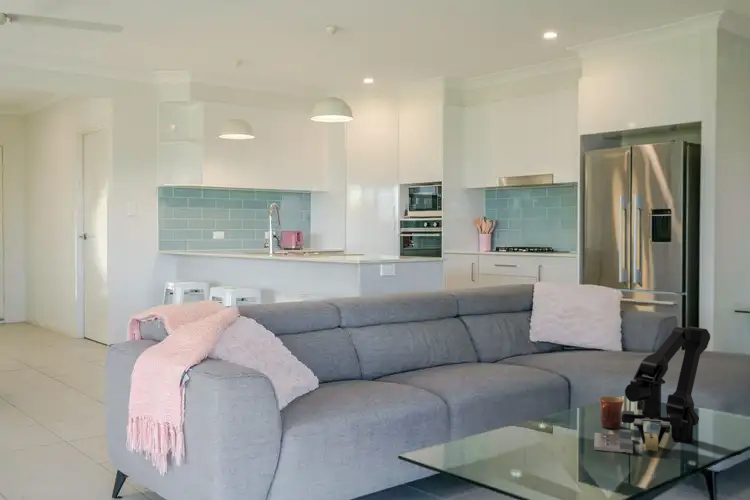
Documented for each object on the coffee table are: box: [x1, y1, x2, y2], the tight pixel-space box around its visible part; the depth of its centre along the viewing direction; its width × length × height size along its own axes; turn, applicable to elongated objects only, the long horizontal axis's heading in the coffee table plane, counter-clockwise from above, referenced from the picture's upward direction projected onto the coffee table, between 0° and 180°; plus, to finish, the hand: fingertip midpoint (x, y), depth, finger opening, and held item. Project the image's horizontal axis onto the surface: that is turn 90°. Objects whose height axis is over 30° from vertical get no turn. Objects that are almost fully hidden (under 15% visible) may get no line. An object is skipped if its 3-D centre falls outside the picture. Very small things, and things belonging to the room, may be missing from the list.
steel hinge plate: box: [593, 428, 634, 454], centre depth 248 cm, size 12×16×3 cm
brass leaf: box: [643, 432, 659, 452], centre depth 244 cm, size 4×6×4 cm, turn 164°
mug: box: [598, 395, 625, 430], centre depth 267 cm, size 12×9×10 cm
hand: (650, 444), depth 244 cm, fingers closed on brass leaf, 4 cm apart
